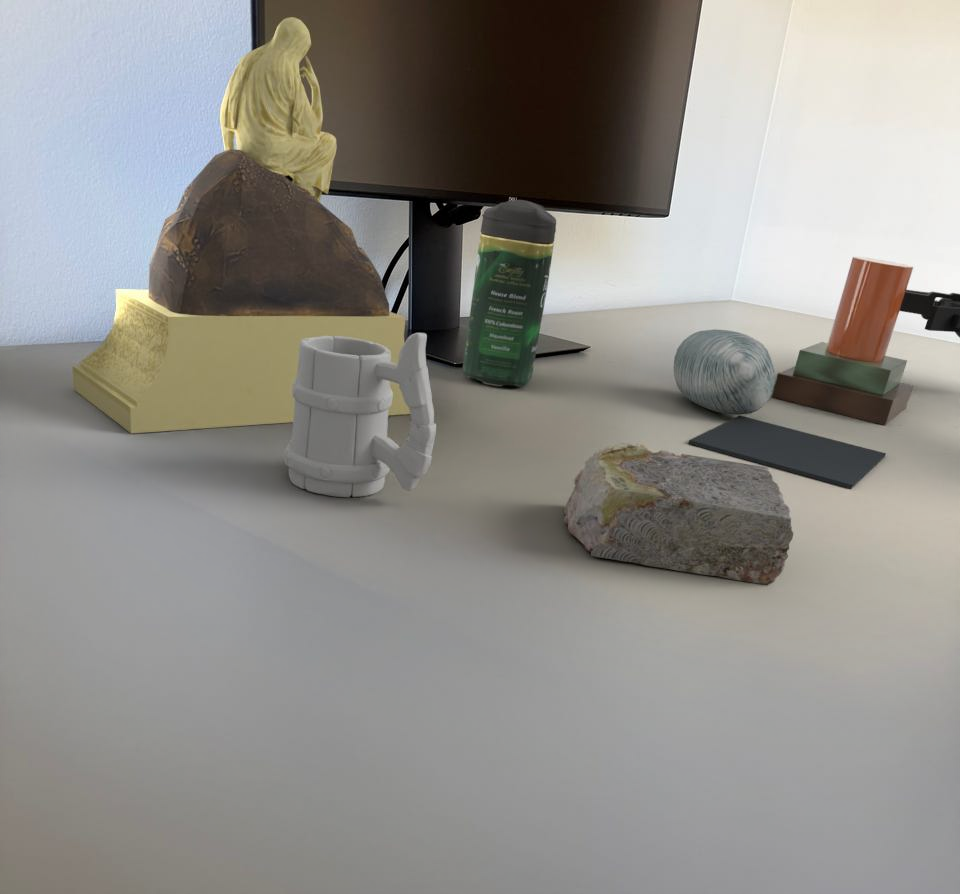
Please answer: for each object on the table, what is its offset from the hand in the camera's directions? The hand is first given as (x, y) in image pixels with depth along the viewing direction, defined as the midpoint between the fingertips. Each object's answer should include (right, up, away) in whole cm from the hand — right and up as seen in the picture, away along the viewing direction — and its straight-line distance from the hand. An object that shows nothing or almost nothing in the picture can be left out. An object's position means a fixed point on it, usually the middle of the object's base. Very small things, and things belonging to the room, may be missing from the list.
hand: (885, 306), depth 120 cm
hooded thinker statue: (-70, -20, -32) cm, 80 cm away
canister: (-3, -6, +1) cm, 7 cm away
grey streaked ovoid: (-19, -12, -9) cm, 25 cm away
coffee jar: (-48, -12, -10) cm, 51 cm away
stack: (-4, -11, +4) cm, 12 cm away
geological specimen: (-37, -34, -50) cm, 71 cm away
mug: (-59, -30, -48) cm, 82 cm away
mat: (-19, -22, -21) cm, 36 cm away
